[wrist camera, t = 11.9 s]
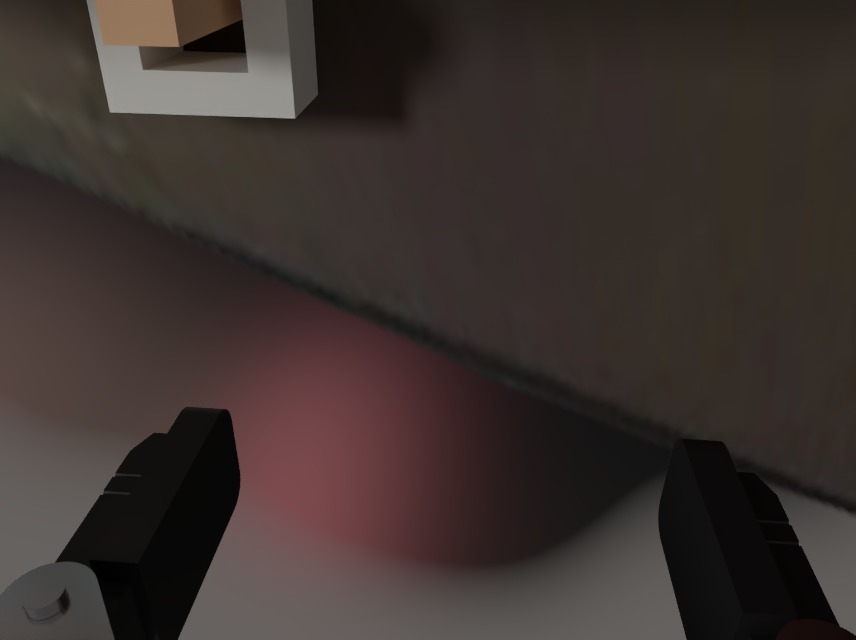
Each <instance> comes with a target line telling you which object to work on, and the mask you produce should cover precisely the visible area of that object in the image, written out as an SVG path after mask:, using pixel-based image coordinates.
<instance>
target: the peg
mask: <svg viewBox="0 0 856 640" xmlns="http://www.w3.org/2000/svg"><path fill="white" fill-rule="evenodd" d="M95 4H96V9H97V14H98V19H99V24H100V28H101V33H102V38H103V43H104V45H117V46H158V47H181V46H183V45H185V44H187V43H190V42H192V41H194V40H196V39H199V38H201V37H203V36H206V35H208V34H210V33H212V32H215V31H217V30H219V29H221V28H224V27H226V26H228V25H230V24H233V23H235V22H237V21H240V20H242V19H243V18H242V9H241V0H95Z"/></svg>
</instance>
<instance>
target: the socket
mask: <svg viewBox="0 0 856 640" xmlns="http://www.w3.org/2000/svg"><path fill="white" fill-rule="evenodd" d="M87 5H88V10H89V15H90V19H91V24H92V29H93V33H94V38H95V43H96V48H97V52H98V57H99V62H100V67H101V71H102V76H103V81H104V86H105V90H106V95H107V100H108V105H109V109H110V112H117V113H147V114H176V115H205V116H234V117H264V118H293V119H295V118H296V117H297V116H298V115H299V114H300V113H301V112H302V111H303V110H304V109H305V108H306V107H307V106H308V105H309V104H310V102H311V101H312V100H313V99H314V98H315V97H316V96H317V95H318V84H317V68H316V53H315V37H314V21H313V6H312V0H241V9H242V18H243V27H244V36H245V45H246V53H235V52H199V51H184V50H183V46H181V47H158V46H117V45H104V43H103V38H102V33H101V28H100V24H99V19H98V14H97V9H96V4H95V0H87Z"/></svg>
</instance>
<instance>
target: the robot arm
mask: <svg viewBox="0 0 856 640" xmlns="http://www.w3.org/2000/svg"><path fill="white" fill-rule="evenodd" d="M239 490H240V469H239V462H238V456H237V450H236V444H235V438H234V431H233V425H232V419H231V416H230V413H229V411H228V410H226V409H213V408H197V407H186V408H184V409H183V410H182V411H181V412H180V414H179V416H178V417H177V419H176V420H175V422H174V424H173V425H172V427H171V429H170V430H169V432H168V433H167V434H164V433H153V434H152V435H150V436H149V437H148V438H147V439H145V440H144V441H143V442H141V443H140V444H139V445H137V446H136V447H135V448H133V449H132V450H131V451H130V452H129V453H128V455H127V456H126V458H125V459H124V461H123V462H122V464H121V465H120V467H119V468H118V470H117V472H116V475H115V477H112V479H111V480H110V482H109V483H108V485H107V486H106V488H105V489H104V494H103V495H100V497H99V498H98V500H97V501H96V503H95V504H94V506H93V507H92V508H91V510H90V511H89V513H88V514H87V516H86V517H85V519H84V521H83V522H82V523H81V525H80V526H79V528H78V529H77V531H76V532H75V534H74V535H73V537H72V538H71V540H70V541H69V543H68V544H67V546H66V547H65V549H64V550H63V552H62V553H61V554H60V556H59V558H58V559H57V561H56V562H55V563H51V564H47V565H44V566H41V567H38V568H36V569H34V570H31V571H29V572H28V573H26V574H24V575H22V576H21V577H20V578H18V579H17V580H15V581H14V582H13V583H12V584H11V585H10V586H8V587H7V588H6V589H5V591H4V592H3V593H2V594H1V595H0V640H178V638H179V636H180V633H181V631H182V628H183V626H184V624H185V622H186V619H187V617H188V615H189V613H190V610H191V608H192V606H193V603H194V601H195V599H196V596H197V594H198V592H199V589H200V587H201V585H202V583H203V580H204V578H205V576H206V573H207V571H208V569H209V567H210V564H211V562H212V560H213V557H214V555H215V553H216V550H217V548H218V546H219V544H220V541H221V539H222V536H223V534H224V532H225V530H226V527H227V525H228V523H229V521H230V518H231V516H232V514H233V511H234V509H235V506H236V504H237V500H238V496H239ZM658 522H659V532H660V539H661V543H662V547H663V551H664V554H665V558H666V562H667V566H668V570H669V574H670V578H671V581H672V585H673V589H674V593H675V597H676V601H677V604H678V608H679V612H680V616H681V620H682V624H683V628H684V631H685V635H686V639H687V640H856V635H854V634H853V633H851V632H849V631H847V630H846V629H844V628H842V627H840V626H839V624H838V622H837V620H836V618H835V616H834V614H833V612H832V610H831V607H830V605H829V603H828V601H827V599H826V597H825V595H824V593H823V591H822V589H821V587H820V584H819V582H818V580H817V578H816V576H815V574H814V572H813V570H812V568H811V566H810V564H809V561H808V559H807V557H806V555H805V553H804V551H803V549H802V547H801V546H799V544H798V543H799V540H798V538H797V536H796V534H795V532H794V530H793V528H792V526H791V525H789V519H788V517H787V515H786V513H785V511H784V509H783V507H782V505H781V503H780V501H779V499H778V496H777V495H776V494H775V493H774V492H773V491H772V490H771V489H770V488H769V487H768V486H767V485H766V484H765V483H764V482H763V481H762V480H761V479H760V478H759V477H758V476H757V475H756V474H755V473H746V472H737V471H736V468H735V466H734V464H733V461H732V459H731V457H730V454H729V452H728V450H727V447H726V445H725V444H724V443H723V442H721V441H709V440H693V439H677V440H676V441H675V443H674V445H673V449H672V453H671V457H670V461H669V466H668V470H667V474H666V478H665V482H664V486H663V491H662V495H661V499H660V504H659V515H658Z"/></svg>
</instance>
